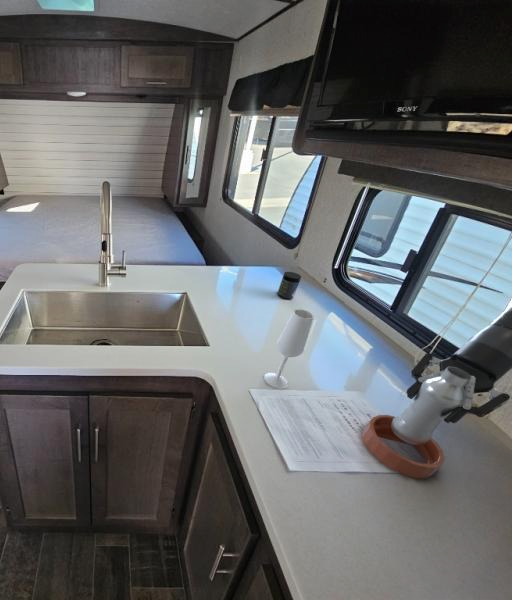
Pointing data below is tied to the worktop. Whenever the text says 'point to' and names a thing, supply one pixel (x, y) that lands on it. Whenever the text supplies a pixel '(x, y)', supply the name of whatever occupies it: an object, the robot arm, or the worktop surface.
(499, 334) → the robot arm
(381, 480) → the worktop surface
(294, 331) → the champagne flute
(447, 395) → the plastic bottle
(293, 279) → the supplement container
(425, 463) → the ring
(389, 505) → the worktop surface
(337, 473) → the worktop surface
